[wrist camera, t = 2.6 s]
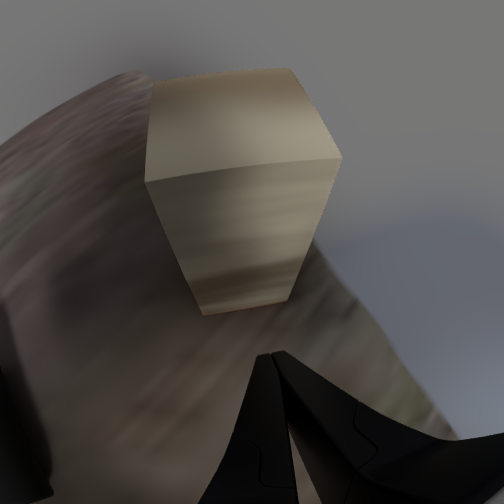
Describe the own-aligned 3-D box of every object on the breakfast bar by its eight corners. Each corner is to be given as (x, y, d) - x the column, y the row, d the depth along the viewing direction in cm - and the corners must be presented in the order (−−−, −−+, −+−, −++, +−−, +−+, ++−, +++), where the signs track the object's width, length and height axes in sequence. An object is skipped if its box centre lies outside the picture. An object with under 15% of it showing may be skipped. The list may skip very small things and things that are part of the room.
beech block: (286, 301, 18) (342, 157, 7) (202, 315, 17) (144, 182, 7) (269, 230, 20) (290, 68, 9) (193, 241, 19) (153, 82, 9)
